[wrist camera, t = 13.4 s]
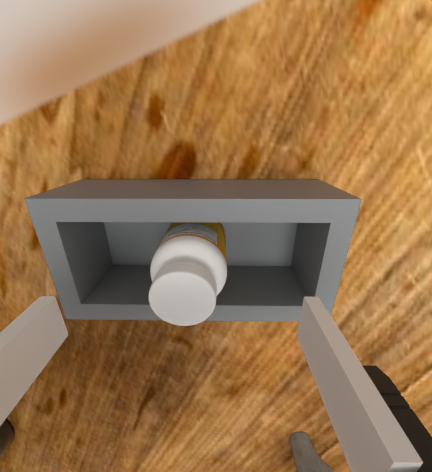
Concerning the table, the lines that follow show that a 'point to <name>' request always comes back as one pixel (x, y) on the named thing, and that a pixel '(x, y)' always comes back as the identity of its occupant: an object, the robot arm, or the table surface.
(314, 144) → the table surface
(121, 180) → the tray
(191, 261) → the supplement bottle
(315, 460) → the hip flask
